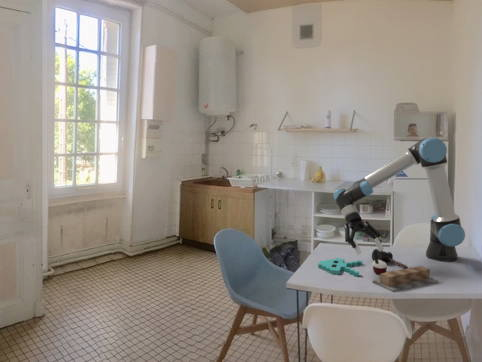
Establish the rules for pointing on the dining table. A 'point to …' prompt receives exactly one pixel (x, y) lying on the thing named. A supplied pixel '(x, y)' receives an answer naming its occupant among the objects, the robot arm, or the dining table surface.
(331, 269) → the alien figure
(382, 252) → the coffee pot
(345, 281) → the dining table surface
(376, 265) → the cocoa
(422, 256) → the dining table surface
